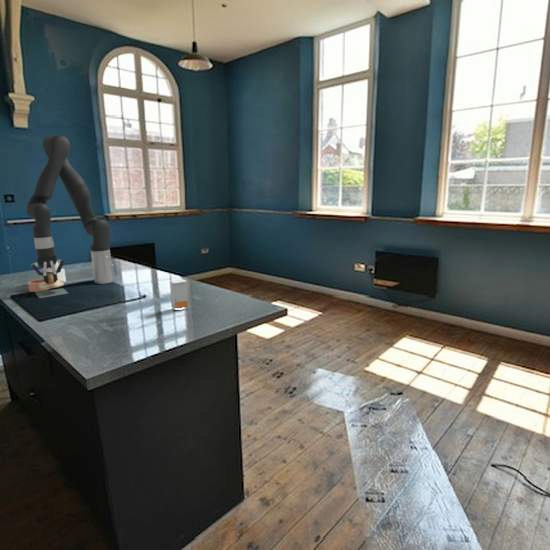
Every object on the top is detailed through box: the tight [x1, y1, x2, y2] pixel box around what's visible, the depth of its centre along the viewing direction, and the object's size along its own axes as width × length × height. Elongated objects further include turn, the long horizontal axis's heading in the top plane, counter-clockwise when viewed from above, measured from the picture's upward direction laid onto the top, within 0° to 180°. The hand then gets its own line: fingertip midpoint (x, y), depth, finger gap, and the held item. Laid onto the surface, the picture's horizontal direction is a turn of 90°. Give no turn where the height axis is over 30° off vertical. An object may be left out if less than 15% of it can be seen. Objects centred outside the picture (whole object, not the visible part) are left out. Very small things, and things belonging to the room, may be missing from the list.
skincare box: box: [169, 278, 189, 309], centre depth 155 cm, size 6×4×12 cm
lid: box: [39, 274, 65, 290], centre depth 180 cm, size 10×10×6 cm
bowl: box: [27, 278, 52, 293], centre depth 188 cm, size 9×9×4 cm
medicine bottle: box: [46, 261, 67, 283], centre depth 201 cm, size 7×7×12 cm
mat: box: [35, 287, 69, 299], centre depth 181 cm, size 12×12×1 cm
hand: (51, 282), depth 180 cm, fingers closed on lid, 2 cm apart
